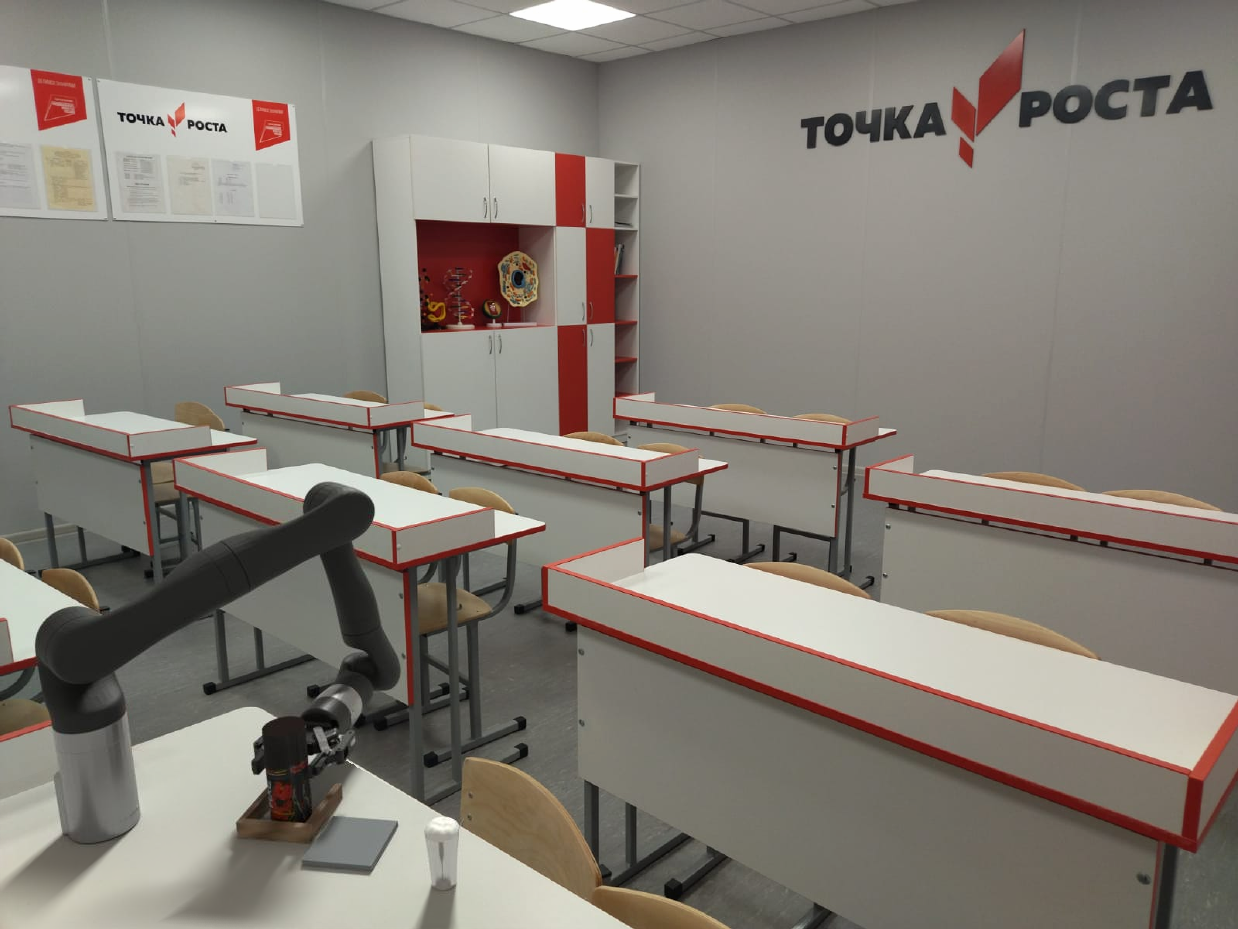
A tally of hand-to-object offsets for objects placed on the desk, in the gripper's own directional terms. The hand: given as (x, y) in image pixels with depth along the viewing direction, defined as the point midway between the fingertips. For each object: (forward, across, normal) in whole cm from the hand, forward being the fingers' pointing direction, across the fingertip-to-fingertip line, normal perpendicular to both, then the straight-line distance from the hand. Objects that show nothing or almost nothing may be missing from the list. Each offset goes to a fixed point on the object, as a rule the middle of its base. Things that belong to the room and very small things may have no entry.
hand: (282, 771), depth 129 cm
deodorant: (-1, 0, +9) cm, 9 cm away
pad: (+4, +12, +8) cm, 15 cm away
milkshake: (+10, +28, +9) cm, 30 cm away
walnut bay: (-1, 0, +8) cm, 9 cm away
